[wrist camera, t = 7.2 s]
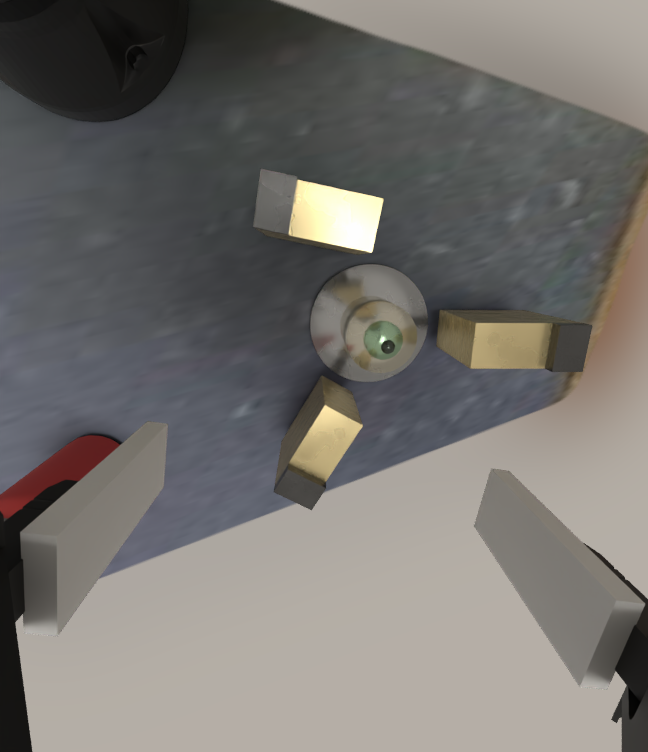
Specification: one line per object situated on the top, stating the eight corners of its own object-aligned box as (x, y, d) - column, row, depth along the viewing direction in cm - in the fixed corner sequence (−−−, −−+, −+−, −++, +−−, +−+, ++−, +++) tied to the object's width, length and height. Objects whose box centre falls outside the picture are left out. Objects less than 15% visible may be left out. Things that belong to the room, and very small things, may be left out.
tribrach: (303, 214, 31) (301, 197, 23) (492, 216, 31) (554, 201, 23) (305, 417, 36) (303, 460, 28) (467, 415, 36) (511, 458, 28)
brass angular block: (436, 346, 32) (475, 371, 24) (439, 309, 31) (481, 325, 23) (518, 346, 32) (582, 371, 24) (524, 310, 31) (592, 325, 24)
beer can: (51, 447, 36) (-73, 534, 24) (113, 422, 35) (18, 499, 24) (89, 502, 37) (-9, 609, 26) (149, 480, 37) (76, 577, 25)
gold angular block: (366, 213, 29) (386, 196, 21) (357, 254, 29) (374, 252, 22) (273, 193, 28) (260, 168, 20) (267, 236, 29) (252, 227, 21)
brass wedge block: (321, 375, 32) (325, 409, 25) (351, 392, 33) (364, 430, 25) (281, 441, 34) (273, 491, 26) (311, 455, 34) (311, 510, 27)
